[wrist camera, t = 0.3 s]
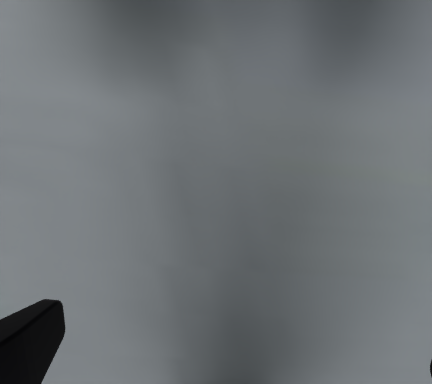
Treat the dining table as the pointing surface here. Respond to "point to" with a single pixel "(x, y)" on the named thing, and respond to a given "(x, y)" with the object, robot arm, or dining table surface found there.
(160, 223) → the dining table surface
